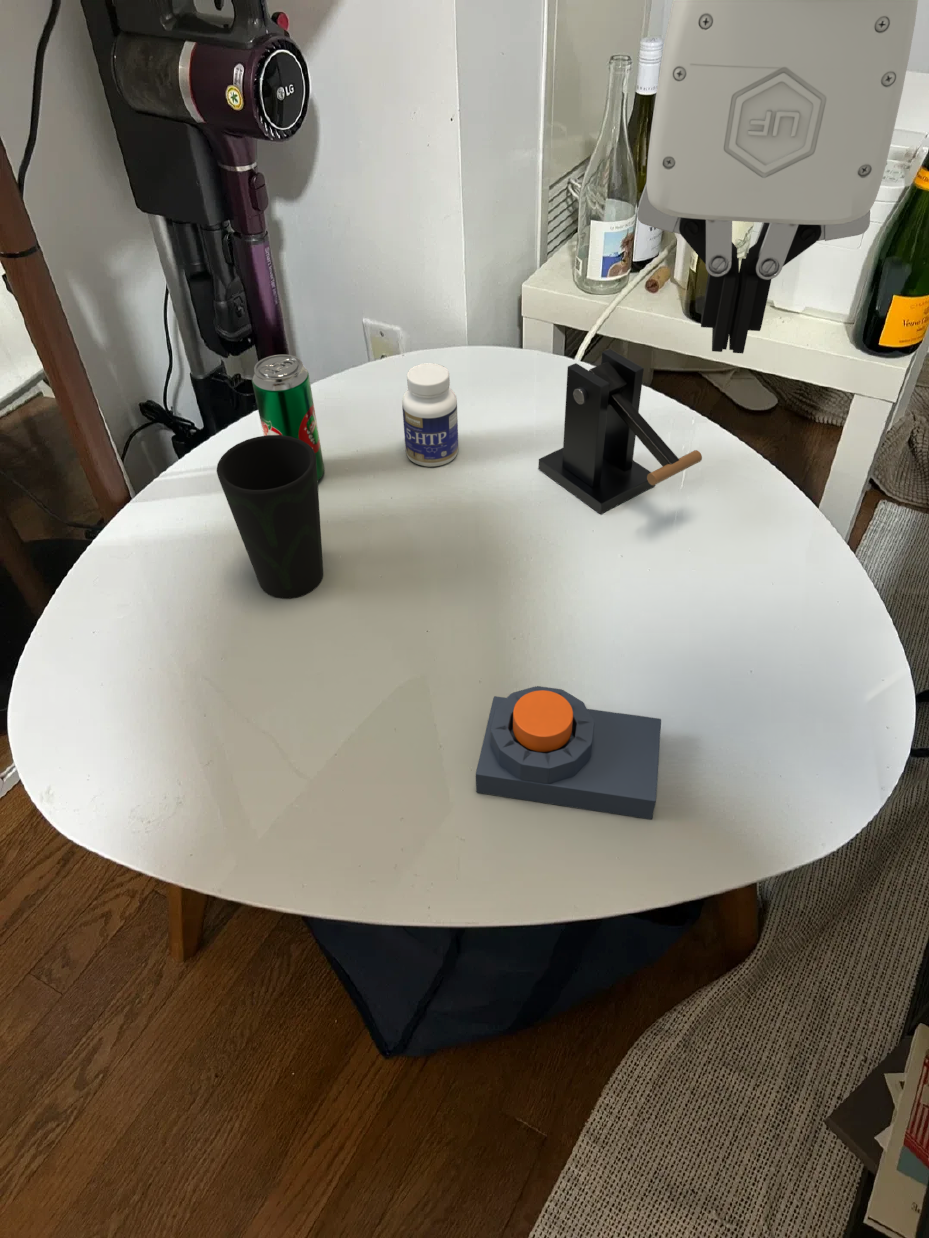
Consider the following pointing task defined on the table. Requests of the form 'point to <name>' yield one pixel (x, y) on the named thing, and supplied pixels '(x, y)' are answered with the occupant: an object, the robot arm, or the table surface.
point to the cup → (276, 511)
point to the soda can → (287, 401)
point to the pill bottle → (430, 416)
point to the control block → (574, 760)
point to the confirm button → (542, 721)
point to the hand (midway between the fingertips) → (727, 339)
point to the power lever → (643, 428)
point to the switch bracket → (598, 439)
